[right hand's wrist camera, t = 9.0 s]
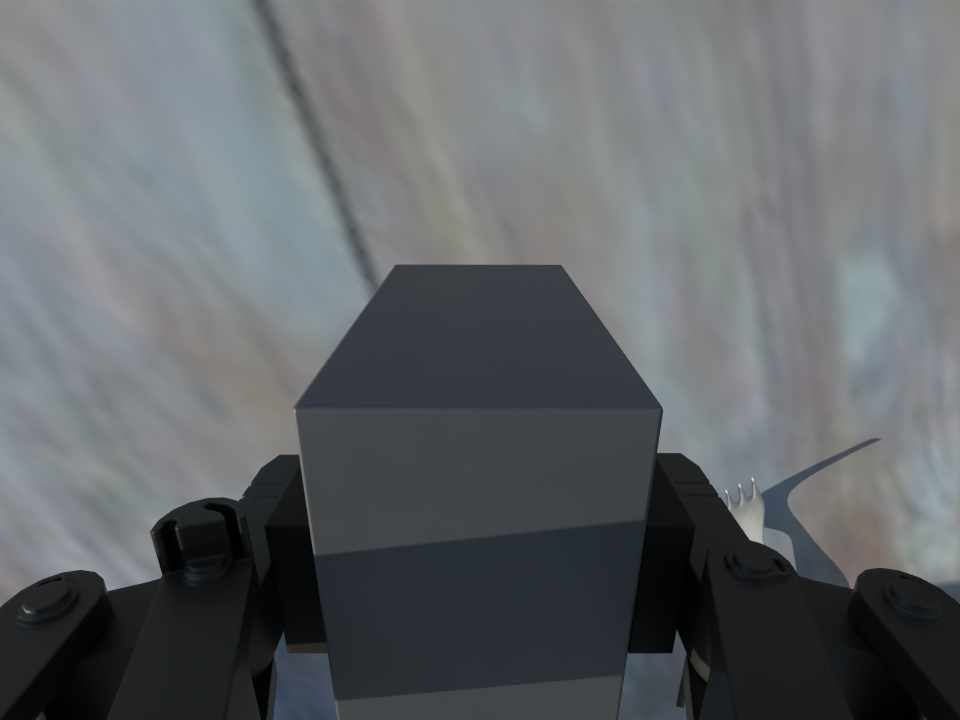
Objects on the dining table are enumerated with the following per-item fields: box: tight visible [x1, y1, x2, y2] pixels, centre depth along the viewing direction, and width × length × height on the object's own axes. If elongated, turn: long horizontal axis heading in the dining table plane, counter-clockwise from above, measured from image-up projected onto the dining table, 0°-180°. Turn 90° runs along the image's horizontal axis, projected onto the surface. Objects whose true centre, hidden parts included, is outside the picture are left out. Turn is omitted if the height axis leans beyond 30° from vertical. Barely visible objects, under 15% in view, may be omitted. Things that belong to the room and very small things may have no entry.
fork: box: [726, 477, 765, 545], centre depth 30 cm, size 3×16×2 cm, turn 32°
